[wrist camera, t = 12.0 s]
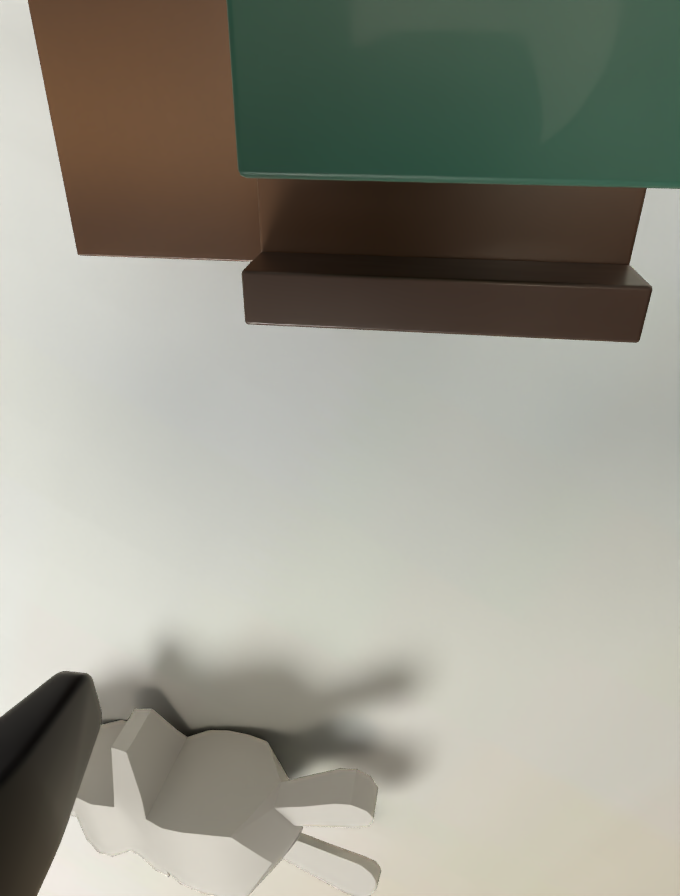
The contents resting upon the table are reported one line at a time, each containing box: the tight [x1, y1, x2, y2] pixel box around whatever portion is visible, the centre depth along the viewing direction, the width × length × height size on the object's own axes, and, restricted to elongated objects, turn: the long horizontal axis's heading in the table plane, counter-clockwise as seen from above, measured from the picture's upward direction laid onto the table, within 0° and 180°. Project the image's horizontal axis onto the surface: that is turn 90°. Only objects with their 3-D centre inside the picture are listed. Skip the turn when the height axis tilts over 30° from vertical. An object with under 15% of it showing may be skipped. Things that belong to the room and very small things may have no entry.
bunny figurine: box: [70, 709, 381, 896], centre depth 29 cm, size 10×5×15 cm
